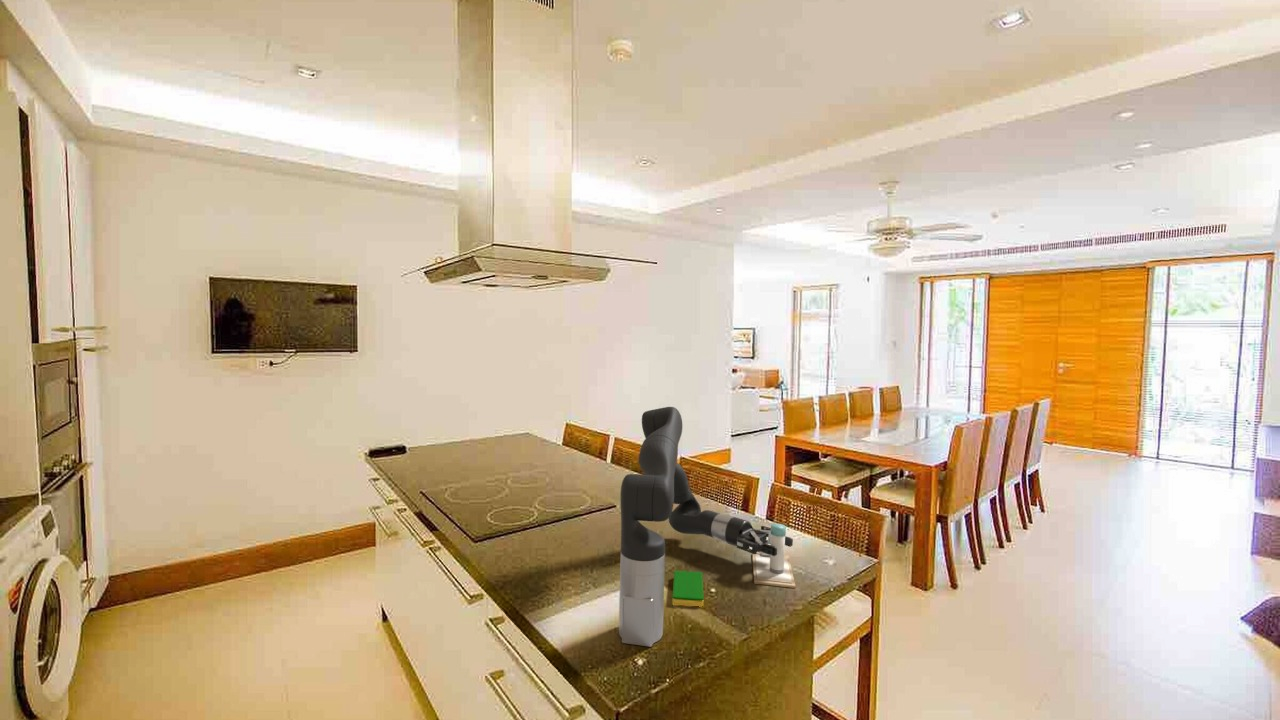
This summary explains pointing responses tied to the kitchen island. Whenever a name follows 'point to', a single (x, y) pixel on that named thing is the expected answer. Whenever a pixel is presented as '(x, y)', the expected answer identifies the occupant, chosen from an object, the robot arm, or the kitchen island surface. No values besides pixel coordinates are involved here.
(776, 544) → the bottle
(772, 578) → the clipboard
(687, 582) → the dish sponge
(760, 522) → the kitchen island surface
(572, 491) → the kitchen island surface
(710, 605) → the kitchen island surface
